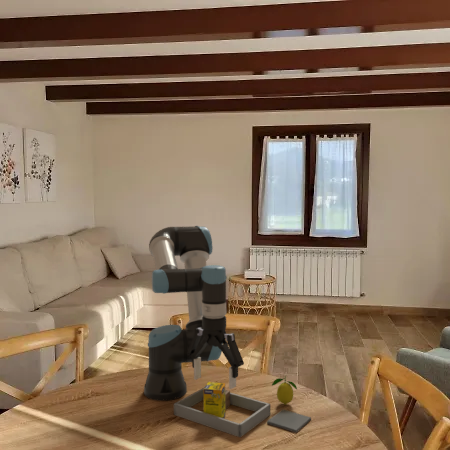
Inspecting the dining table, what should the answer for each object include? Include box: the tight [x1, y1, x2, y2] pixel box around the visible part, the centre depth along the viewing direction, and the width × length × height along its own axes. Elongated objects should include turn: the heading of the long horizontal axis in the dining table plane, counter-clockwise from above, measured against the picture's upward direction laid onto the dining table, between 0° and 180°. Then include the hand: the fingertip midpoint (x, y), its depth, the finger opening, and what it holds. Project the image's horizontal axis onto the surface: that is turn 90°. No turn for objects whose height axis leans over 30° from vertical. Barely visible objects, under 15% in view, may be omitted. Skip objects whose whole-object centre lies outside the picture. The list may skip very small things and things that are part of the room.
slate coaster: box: [266, 409, 312, 433], centre depth 154 cm, size 10×10×1 cm
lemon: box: [271, 375, 298, 406], centre depth 166 cm, size 7×6×10 cm
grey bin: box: [173, 386, 271, 438], centre depth 159 cm, size 26×18×4 cm
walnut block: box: [225, 389, 231, 410], centre depth 165 cm, size 5×5×5 cm
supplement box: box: [203, 381, 226, 419], centre depth 155 cm, size 6×6×11 cm
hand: (214, 382), depth 155 cm, fingers open, 13 cm apart
